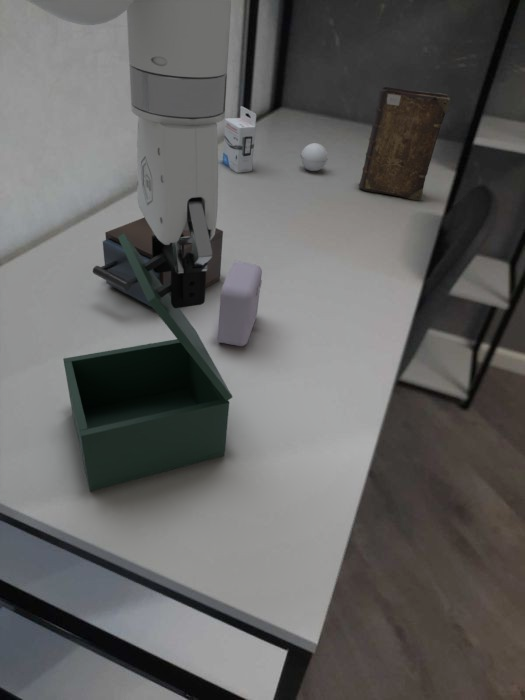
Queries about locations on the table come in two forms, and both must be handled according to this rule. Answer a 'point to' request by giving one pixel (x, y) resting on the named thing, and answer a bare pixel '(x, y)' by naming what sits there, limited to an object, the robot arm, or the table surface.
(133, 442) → the chest
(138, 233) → the cabinet
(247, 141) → the ink box
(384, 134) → the book
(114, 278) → the drawer
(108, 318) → the table surface
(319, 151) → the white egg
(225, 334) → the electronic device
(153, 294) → the chest lid
